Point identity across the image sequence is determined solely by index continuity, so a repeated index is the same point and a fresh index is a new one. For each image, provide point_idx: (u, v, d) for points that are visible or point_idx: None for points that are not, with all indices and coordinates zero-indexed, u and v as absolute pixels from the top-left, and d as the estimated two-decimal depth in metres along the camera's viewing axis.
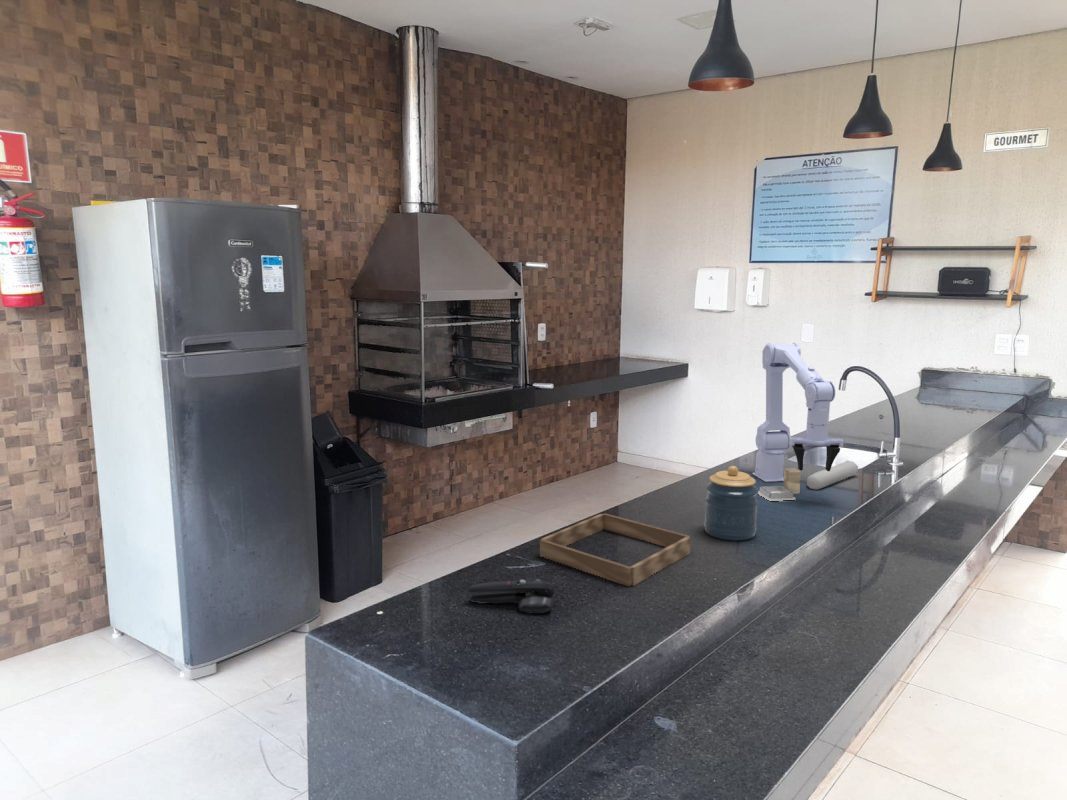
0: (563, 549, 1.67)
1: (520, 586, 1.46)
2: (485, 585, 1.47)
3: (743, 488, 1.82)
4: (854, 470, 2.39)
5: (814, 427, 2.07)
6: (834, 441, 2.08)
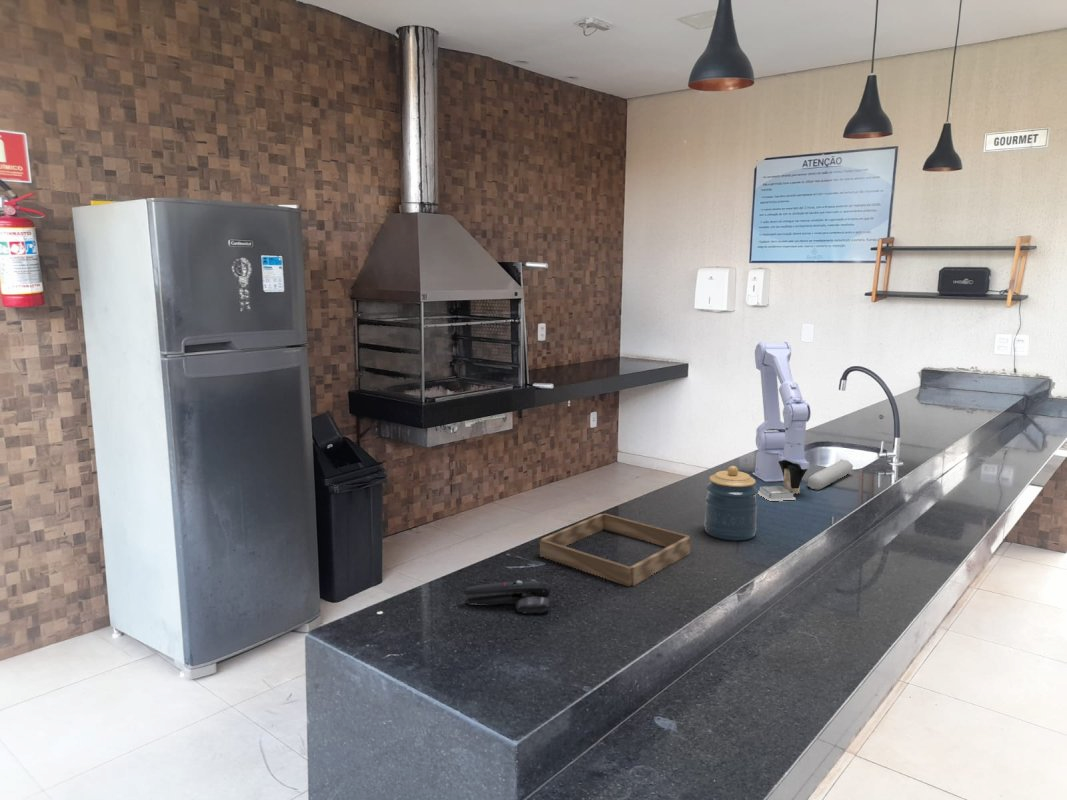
0: (563, 549, 1.67)
1: (517, 587, 1.46)
2: (481, 587, 1.47)
3: (743, 488, 1.82)
4: (850, 468, 2.40)
5: (784, 443, 2.22)
6: (796, 461, 2.17)
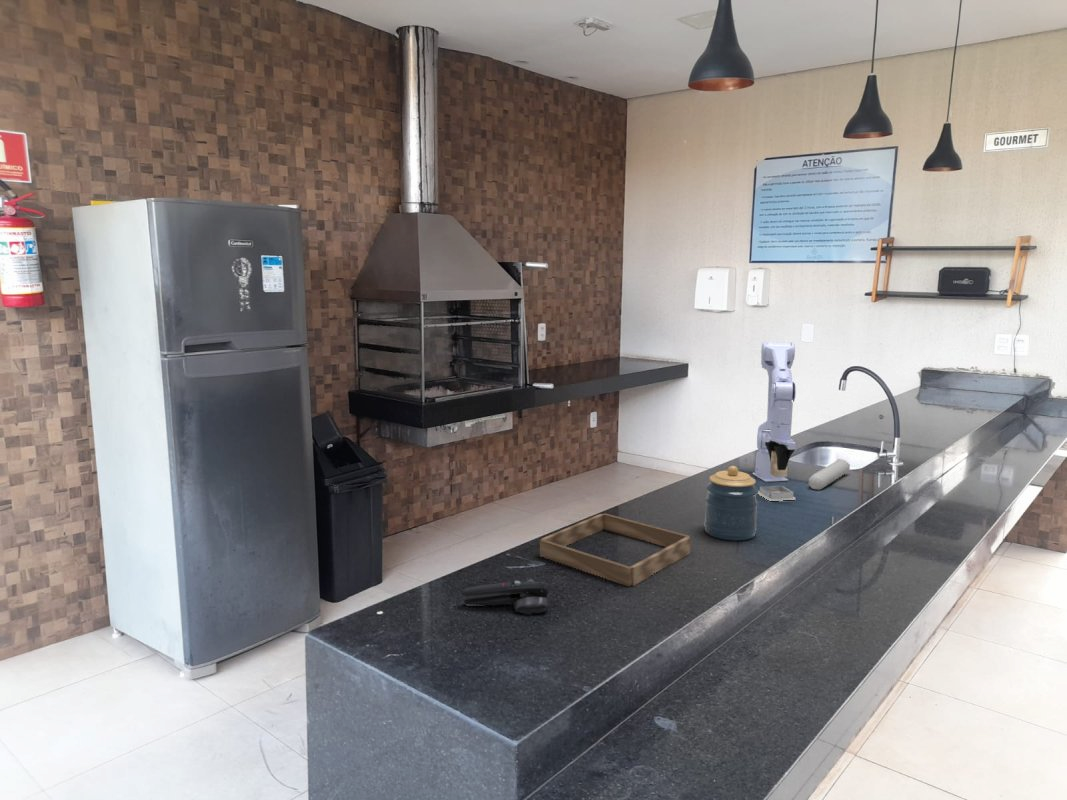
0: (563, 549, 1.67)
1: (515, 587, 1.45)
2: (479, 588, 1.46)
3: (743, 488, 1.82)
4: (847, 468, 2.41)
5: (770, 423, 2.16)
6: (782, 442, 2.11)
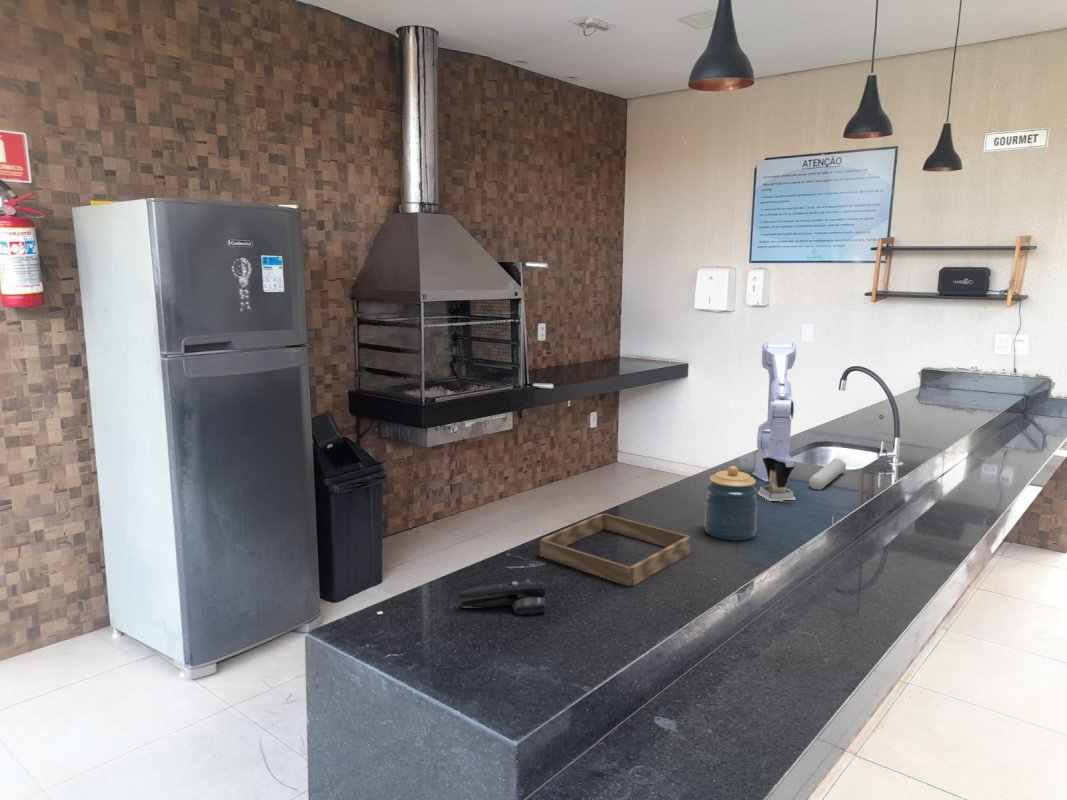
0: (563, 549, 1.67)
1: (513, 588, 1.45)
2: (476, 590, 1.45)
3: (743, 488, 1.82)
4: (843, 467, 2.42)
5: (769, 440, 2.16)
6: (781, 459, 2.11)
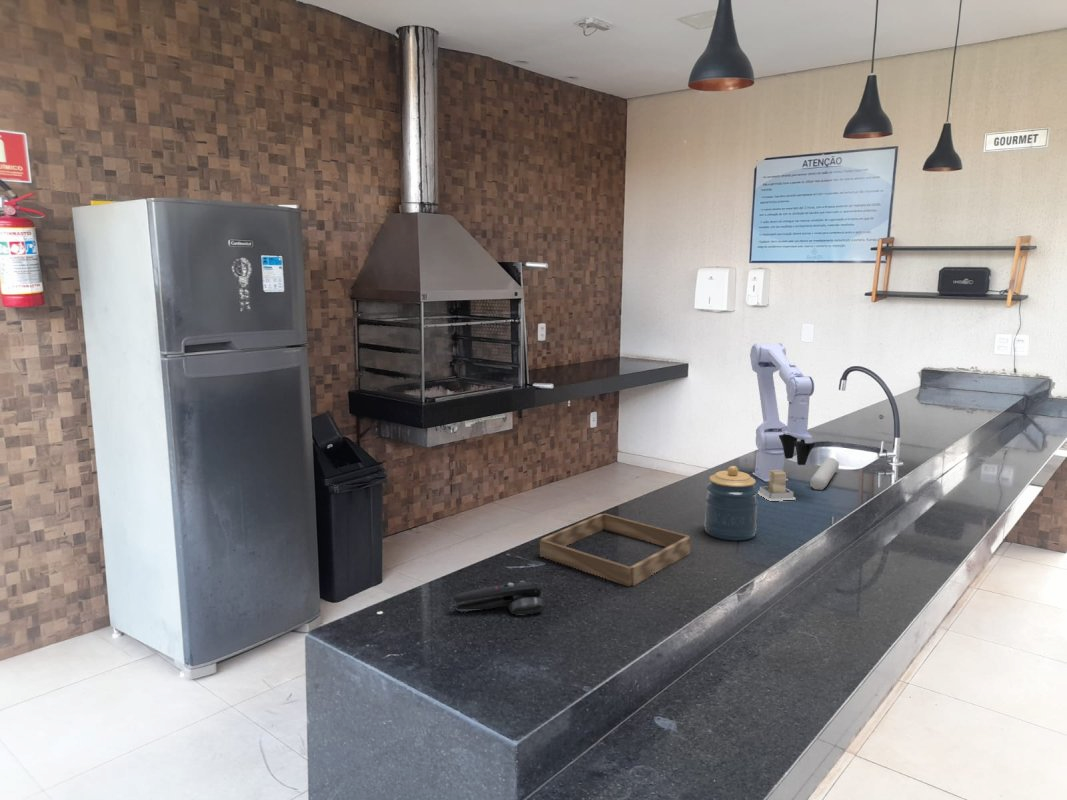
0: (563, 549, 1.67)
1: (509, 589, 1.45)
2: (472, 593, 1.44)
3: (743, 488, 1.82)
4: (837, 466, 2.43)
5: None
6: (799, 435, 2.14)
